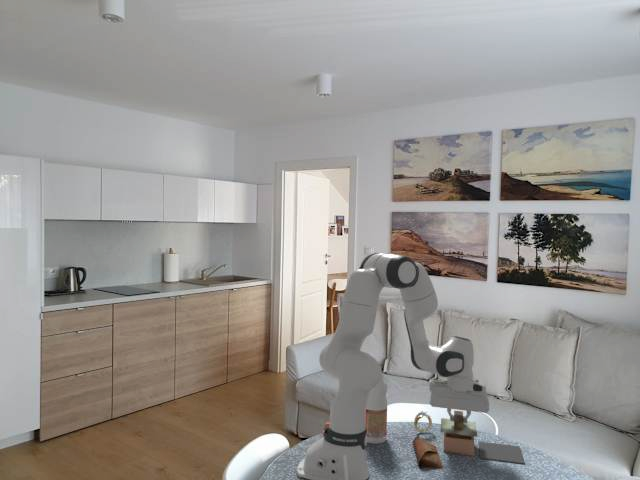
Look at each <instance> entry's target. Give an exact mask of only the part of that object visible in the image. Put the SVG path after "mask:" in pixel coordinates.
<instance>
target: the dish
mask: <svg viewBox="0 0 640 480" xmlns="http://www.w3.org/2000/svg"><path fill="white" fill-rule="evenodd" d="M443 452H444V453H452V454H459V455H460V454H461V455H467V456H468V455H469V456H475V436H467V435H459V434H451V433H444V434H443Z"/></svg>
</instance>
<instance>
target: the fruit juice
mask: <svg viewBox="0 0 640 480" xmlns="http://www.w3.org/2000/svg"><path fill="white" fill-rule="evenodd" d="M378 362H379V364H380V366H381V369H382V368H383V363H382V362H381V361H378ZM387 391H388V383H387V382H386V380H385V379H384V377H383V373H382V374H381V379H380V381H379V383H378V384H377V385H376V386H375V387H374V388H373V389H372V390H371V392H370V394H369V397H368V400H367V405H366V422H365V427H366V429H367V444H372V445H377V444H378V445H380V444H383V443H385V442H386V440H387V435H388V434H387V432H388V431H387V427H388V425H387V424H388V399H387V396H386V395H387Z"/></svg>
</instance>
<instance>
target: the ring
mask: <svg viewBox="0 0 640 480" xmlns="http://www.w3.org/2000/svg"><path fill="white" fill-rule="evenodd" d="M423 417H426V418H427V420H428V426H426V428H425V429H419V428H418V422H419V420H420V419H422V418H423ZM432 420H433V419H432V417H431V416H430V415H429V414H428V413H427V411H425V412H424V411H419V412H418V413H417V414H416V416H415V418H414V421H413V426H414V429H415V430H416V431H418V433H422V434H424V433H427V432H428V431H429V430H430V429H431V427H432V425H433V424H432V423H433V421H432ZM423 432H424V433H423Z"/></svg>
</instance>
